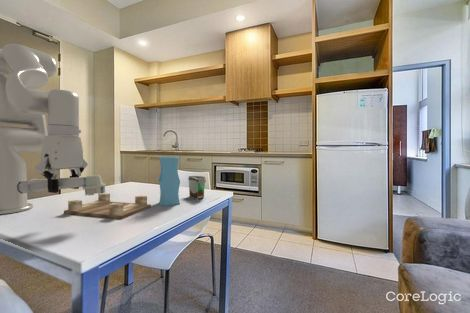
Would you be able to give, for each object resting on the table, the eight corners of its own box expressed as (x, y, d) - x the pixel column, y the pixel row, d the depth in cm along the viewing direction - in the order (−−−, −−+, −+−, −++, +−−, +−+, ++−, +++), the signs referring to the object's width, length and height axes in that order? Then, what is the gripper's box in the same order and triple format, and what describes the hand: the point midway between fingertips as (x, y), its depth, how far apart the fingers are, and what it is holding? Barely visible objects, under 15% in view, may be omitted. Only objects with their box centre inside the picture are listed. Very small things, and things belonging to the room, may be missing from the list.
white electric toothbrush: (29, 178, 71) (107, 170, 71) (32, 199, 71) (110, 190, 71) (13, 181, 66) (97, 172, 66) (16, 203, 66) (100, 194, 66)
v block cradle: (63, 213, 80) (63, 201, 80) (100, 203, 96) (100, 192, 96) (121, 219, 74) (121, 205, 74) (151, 207, 90) (150, 196, 90)
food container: (210, 198, 105) (210, 177, 105) (198, 200, 101) (198, 178, 101) (199, 194, 115) (199, 175, 115) (188, 195, 112) (188, 176, 111)
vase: (158, 201, 99) (158, 157, 98) (176, 200, 102) (176, 156, 101) (160, 206, 91) (160, 157, 91) (180, 204, 95) (179, 157, 94)
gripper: (80, 133, 77) (80, 185, 78) (21, 129, 60) (22, 195, 61) (97, 133, 75) (97, 186, 76) (42, 129, 58) (43, 197, 59)
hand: (64, 189), depth 69 cm, fingers closed on white electric toothbrush, 5 cm apart
